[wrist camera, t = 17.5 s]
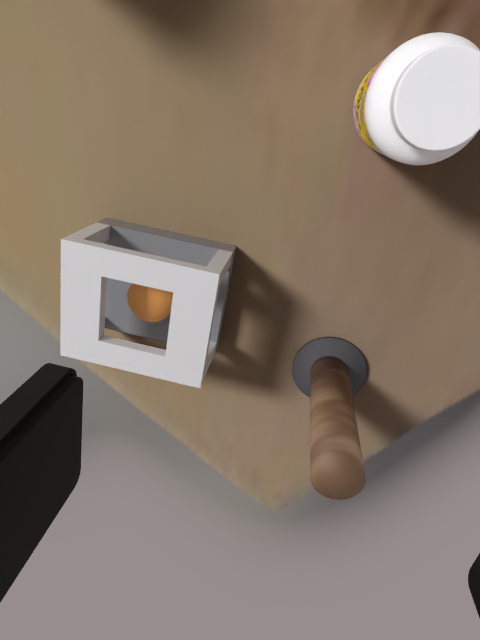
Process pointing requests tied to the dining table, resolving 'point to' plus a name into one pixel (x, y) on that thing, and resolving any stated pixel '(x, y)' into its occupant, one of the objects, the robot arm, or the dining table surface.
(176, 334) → the white hollow box
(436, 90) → the supplement bottle
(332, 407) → the brown wooden rod
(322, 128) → the dining table surface
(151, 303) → the orange hemisphere
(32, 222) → the dining table surface
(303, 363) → the mat
